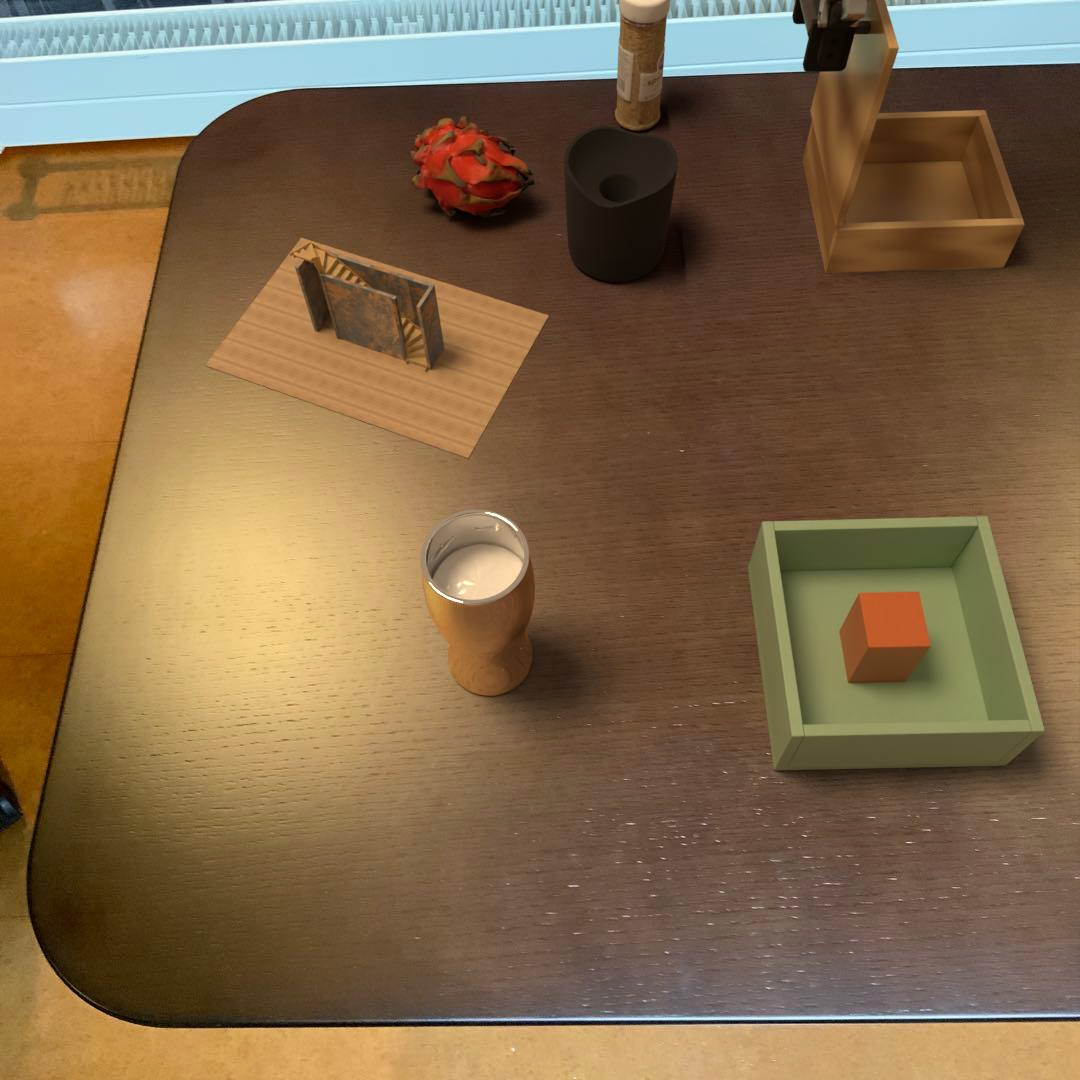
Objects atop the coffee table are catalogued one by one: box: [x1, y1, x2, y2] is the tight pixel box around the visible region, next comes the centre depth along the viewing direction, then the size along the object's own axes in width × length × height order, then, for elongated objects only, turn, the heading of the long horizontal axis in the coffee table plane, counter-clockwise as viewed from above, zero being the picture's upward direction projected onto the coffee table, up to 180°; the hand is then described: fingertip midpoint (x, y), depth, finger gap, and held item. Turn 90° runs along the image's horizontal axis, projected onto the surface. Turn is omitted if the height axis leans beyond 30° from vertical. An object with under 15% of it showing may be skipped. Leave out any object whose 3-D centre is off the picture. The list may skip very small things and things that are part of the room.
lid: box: [800, 0, 900, 226], centre depth 84 cm, size 16×15×5 cm
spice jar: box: [614, 0, 671, 132], centre depth 99 cm, size 5×5×14 cm
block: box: [839, 592, 931, 683], centre depth 71 cm, size 4×4×6 cm
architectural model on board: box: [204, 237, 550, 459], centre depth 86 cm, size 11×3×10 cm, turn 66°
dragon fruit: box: [410, 115, 535, 218], centre depth 96 cm, size 8×8×12 cm
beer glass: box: [419, 508, 536, 697], centre depth 69 cm, size 7×7×15 cm
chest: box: [802, 109, 1026, 274], centre depth 94 cm, size 16×15×6 cm
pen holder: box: [563, 125, 679, 283], centre depth 91 cm, size 9×9×10 cm
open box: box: [747, 515, 1046, 771], centre depth 72 cm, size 16×16×7 cm
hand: (818, 42), depth 81 cm, fingers closed on lid, 5 cm apart
